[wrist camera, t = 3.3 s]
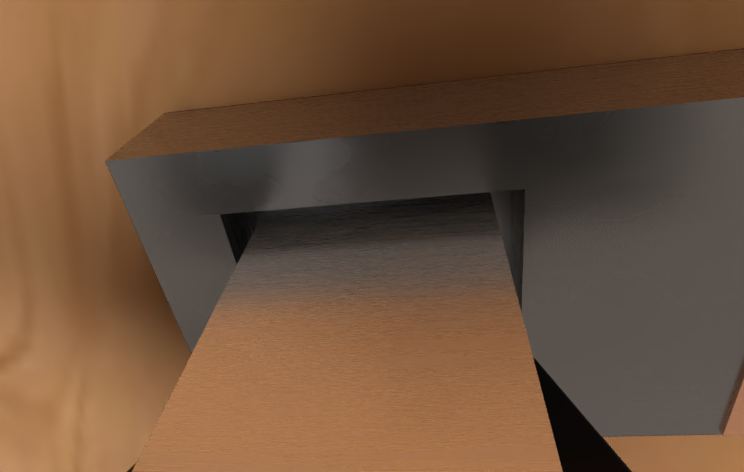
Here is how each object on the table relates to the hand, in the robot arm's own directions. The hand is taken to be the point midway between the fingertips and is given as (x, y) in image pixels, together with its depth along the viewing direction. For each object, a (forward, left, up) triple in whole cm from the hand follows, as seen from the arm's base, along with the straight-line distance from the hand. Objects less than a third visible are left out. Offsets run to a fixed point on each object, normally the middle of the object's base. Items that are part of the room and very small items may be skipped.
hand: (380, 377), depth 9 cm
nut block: (0, 0, -2) cm, 2 cm away
